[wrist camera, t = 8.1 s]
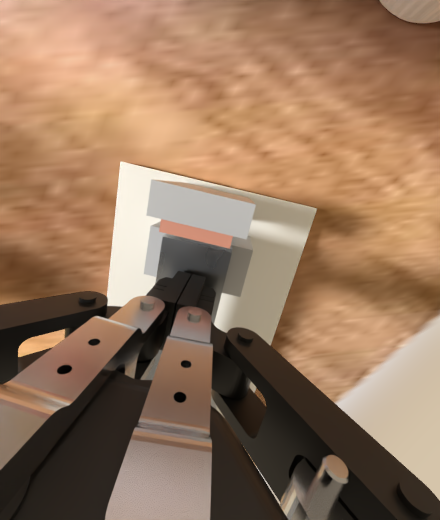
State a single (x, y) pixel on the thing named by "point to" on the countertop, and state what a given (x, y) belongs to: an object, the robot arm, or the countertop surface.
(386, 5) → the ramekin
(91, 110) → the countertop surface
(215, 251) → the clamp lever
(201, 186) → the base
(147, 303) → the robot arm
